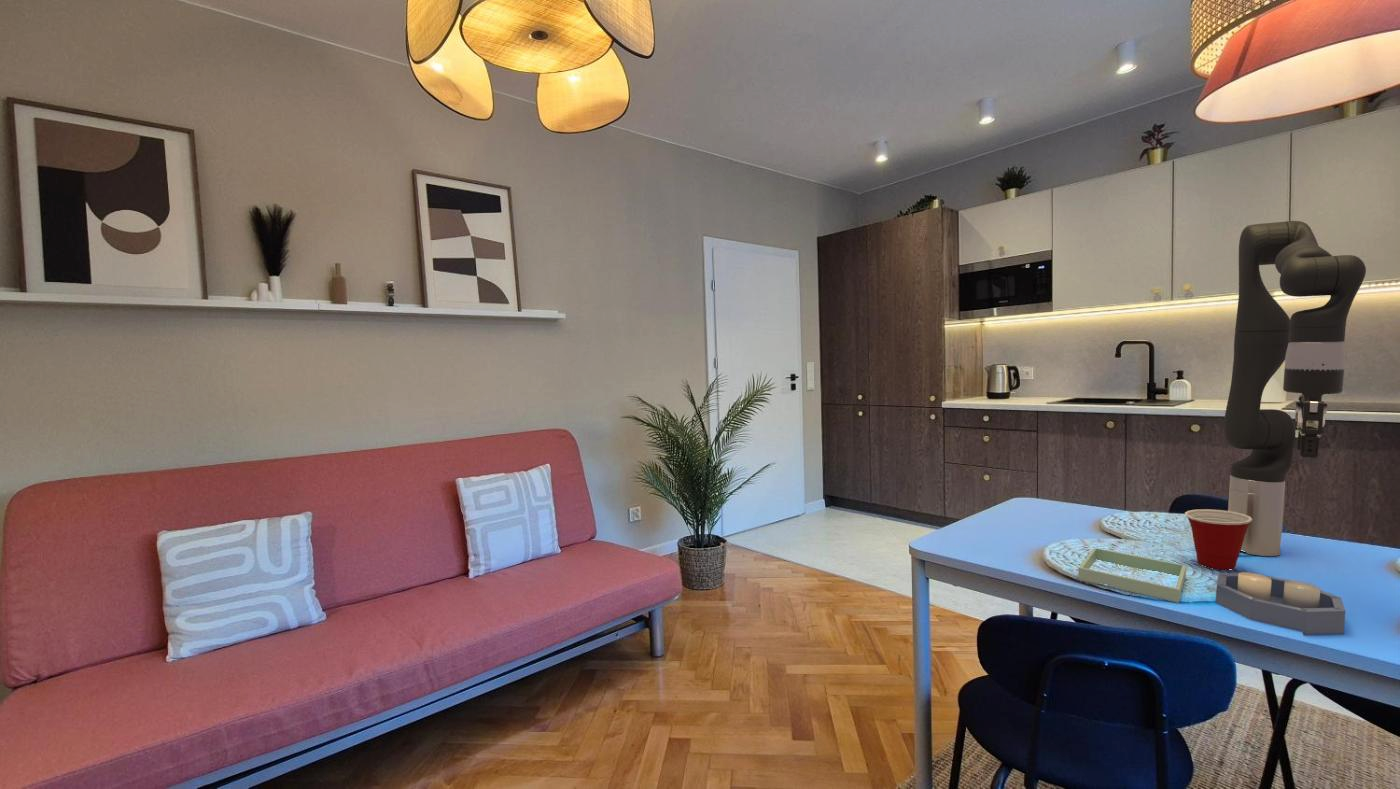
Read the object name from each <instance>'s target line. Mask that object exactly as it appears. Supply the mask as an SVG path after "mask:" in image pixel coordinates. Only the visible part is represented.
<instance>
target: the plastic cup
mask: <svg viewBox="0 0 1400 789" xmlns="http://www.w3.org/2000/svg"><path fill="white" fill-rule="evenodd" d="M1184 514H1185V517H1186V518H1187V519H1188V521H1189V524H1190V528H1191V533H1192V539H1193V545H1194V549H1195V552H1196V553H1195V554H1196V560H1197V563H1199V564H1201V565H1203V566H1206V567H1209V568H1213V569H1219V570H1229V569H1234V568H1235V569H1236V565H1237V562H1238V559H1239V556H1240V554H1241V552H1240V551H1241V547H1242V544H1243V540H1244V537H1245V534H1246V531H1247V528H1248V525H1249V523H1250V522H1252V518H1251V517H1250V516H1247V515H1245V514H1241V513H1237V512H1231V511H1228V510H1223V509H1208V508H1205V509H1202V508H1201V509H1192V510H1187V511H1185V512H1184ZM1199 564H1198V565H1199ZM1201 565H1200V566H1201ZM1203 566H1202V567H1203ZM1206 567H1205V568H1206ZM1209 568H1208V569H1209ZM1213 569H1212V570H1213ZM1235 569H1234V570H1235ZM1219 570H1218V571H1219Z"/></svg>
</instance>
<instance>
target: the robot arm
mask: <svg viewBox="0 0 1400 789" xmlns="http://www.w3.org/2000/svg"><path fill="white" fill-rule="evenodd" d="M1266 265H1267V266H1268V265H1270V266H1271V265H1274V266H1275V269H1276V270H1277V272H1278V273H1279V274H1280V277H1279V288H1280V289H1281V292H1282V293H1283V294H1285V295H1286V296H1290V297H1299V298H1300V297H1301V298H1302V297H1323V296H1330V298H1329V299H1328V301H1327V302H1326V303H1325V304H1324V305H1322V306H1320V307H1315V308H1309V309H1303V310H1298V311H1296V312H1294V313H1292V314H1291V317H1289V315H1288V314H1287V312H1286V311H1285V309H1284V308H1282V306H1281V305H1280V304H1279V303H1278V302H1277V301H1276V300H1275V298H1274V297H1273V296H1272V295H1271V293H1270V291H1268V289H1267V287H1266V286H1265V284H1264V282H1263V279H1262V276H1261V272H1260V266H1266ZM1366 273H1367V268H1366V265H1365V262H1364V261H1363V260H1362V259H1361V257H1358V256H1356V255H1353V254H1352V255H1351V254H1349V255H1348V254H1344V255H1343V254H1342V255H1332V254H1331V253H1330V252H1329V251H1327V250H1326V249H1324V248H1323V247H1321V246H1319V244H1318V241H1317V239H1316V236H1315V234H1314V232H1313V230H1312V229H1311V227H1310V225H1308V224H1307V223H1306V222H1303V221H1299V220H1286V221H1278V222H1276V221H1275V222H1268V223H1267V222H1266V223H1265V222H1264V223H1254V224H1249V225H1247V226H1245V227H1244V229H1242V231H1241V234H1240V237H1239V242H1238V299H1237V300H1238V301H1237V311H1236V319H1235V328H1234V337H1233V338H1234V340H1233V362H1232V370H1231V371H1232V373H1231V382H1230V388H1229V393H1228V399H1227V402H1226V403H1227V404H1226V408H1225V411H1224V412H1225V414H1224V419H1223V433H1224V434H1223V435H1224V437H1225V440H1226V442H1227V443H1228V444H1229V445H1230V446H1232V448H1235V449H1238V450H1239V449H1240V450H1252V451H1251V453H1250V454H1249V455H1247V456H1246V457H1245V458H1242V459H1240V460H1237V461H1235V462H1233V463H1231V467H1230V472H1229V473H1230V474H1229V489H1228V490H1229V492H1228V505H1227V506H1228V508H1227V511H1231V512H1237V513H1241V514H1245V515H1247V516H1250V517H1251V518H1252V522H1250V523H1249V525H1248V528H1247V531H1246V534H1245V537H1244V540H1243V544H1242V547H1241V550H1243V551H1245V552H1246V553H1245V554H1247V555H1248V554H1249V555H1254V556H1255V555H1256V556H1262V557H1278V556H1280V554H1281V547H1282V546H1281V544H1282V533H1283V522H1284V521H1283V520H1284V519H1283V518H1284V506H1285V490H1286V477H1287V474H1288V472H1289V471H1290V469H1291V467H1292V463H1293V455H1294V448H1295V442H1296V433H1298V435H1297V445H1296V446H1297V447H1296V448H1297V450H1299V455H1300V457H1302V458H1311V459H1317V458H1318V457H1319V448H1320V438H1321V436H1322V435H1323V433H1324V430H1323V428H1324V427H1325V425H1326V414H1327V412H1328V403H1327V402H1325V401H1322V400H1323V395H1335V394H1336V395H1337V394H1341V393H1342V392H1343V388H1344V377H1345V364H1346V348H1345V340H1346V339H1345V338H1346V327H1347V319H1348V315H1349V313H1350V310H1351V306H1352V304H1353V302H1354V299H1355V297H1356V295H1357V294H1358V292H1359V290H1360V288H1361V287H1362V285H1363V282H1364V280H1365V277H1366V275H1367V274H1366ZM1283 364H1284V371H1283V384H1282V385H1283V386H1282V389H1283V391H1284V392H1286V393H1292V394H1293V393H1294V394H1300V395H1299V397H1298V401H1294V411H1295V418H1294V419H1295V421H1294V420H1293V418H1292V416H1291V415H1290V414H1289V413H1287V412H1285V411H1283V410H1280V409H1273V408H1271V409H1269V408H1268V409H1265V408H1264V409H1263V408H1261V405H1262V404H1261V402H1262V397H1263V393H1264V390H1265V389H1266V388H1265V387H1266V386H1267V384H1268V383H1269V381H1270V380H1271V379H1272V377H1273V376H1274V375H1275V374H1276V372H1277V371H1278V370H1279V369H1280V367H1281V366H1282V365H1283ZM1295 422H1296V425H1295ZM1296 429H1297V430H1298V432H1296Z"/></svg>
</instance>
